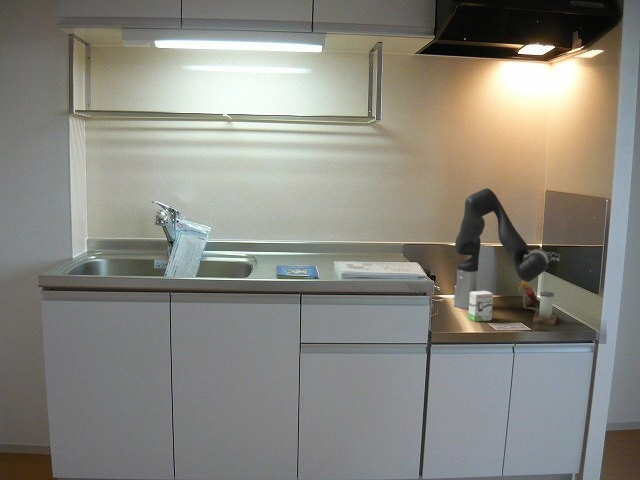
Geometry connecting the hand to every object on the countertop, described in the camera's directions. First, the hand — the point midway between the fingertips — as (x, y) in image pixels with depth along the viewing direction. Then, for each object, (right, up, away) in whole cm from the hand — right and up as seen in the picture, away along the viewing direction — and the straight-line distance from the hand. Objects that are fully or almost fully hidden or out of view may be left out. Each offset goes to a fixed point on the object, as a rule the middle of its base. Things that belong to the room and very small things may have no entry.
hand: (542, 253), depth 217 cm
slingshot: (+7, -26, +29) cm, 40 cm away
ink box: (-22, -28, +11) cm, 38 cm away
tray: (+6, -29, +12) cm, 32 cm away
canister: (+6, -28, +11) cm, 30 cm away
